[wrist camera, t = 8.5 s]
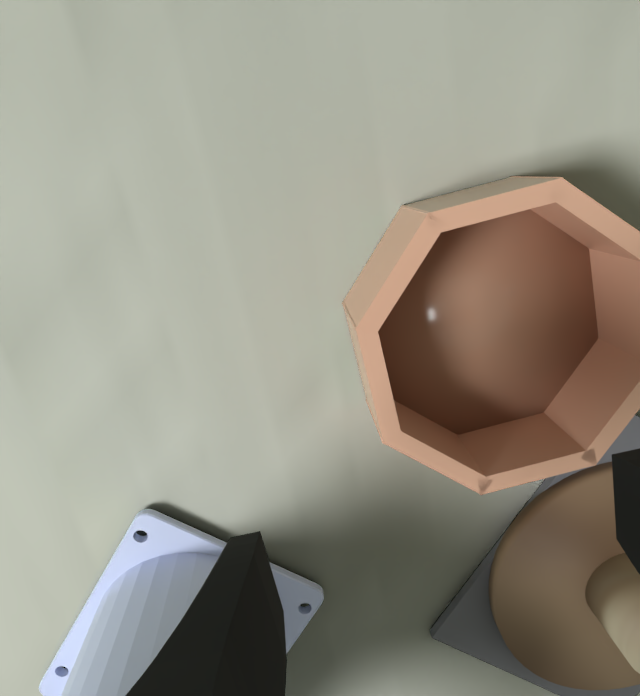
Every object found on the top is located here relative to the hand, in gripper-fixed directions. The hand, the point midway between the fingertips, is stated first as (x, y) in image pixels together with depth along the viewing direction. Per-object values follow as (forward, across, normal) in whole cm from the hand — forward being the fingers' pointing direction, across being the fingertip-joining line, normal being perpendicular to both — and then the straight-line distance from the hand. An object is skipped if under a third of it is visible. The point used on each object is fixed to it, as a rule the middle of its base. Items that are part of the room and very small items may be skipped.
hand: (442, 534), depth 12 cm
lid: (+9, -8, +11) cm, 16 cm away
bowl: (+10, -4, -1) cm, 10 cm away
